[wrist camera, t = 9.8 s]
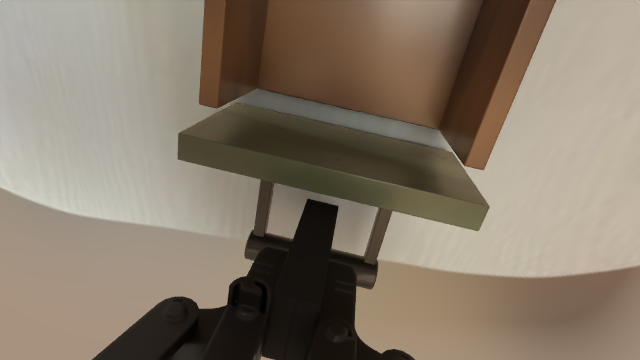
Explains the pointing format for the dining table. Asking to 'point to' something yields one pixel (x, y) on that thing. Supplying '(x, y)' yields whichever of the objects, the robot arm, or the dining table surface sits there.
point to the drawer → (362, 102)
